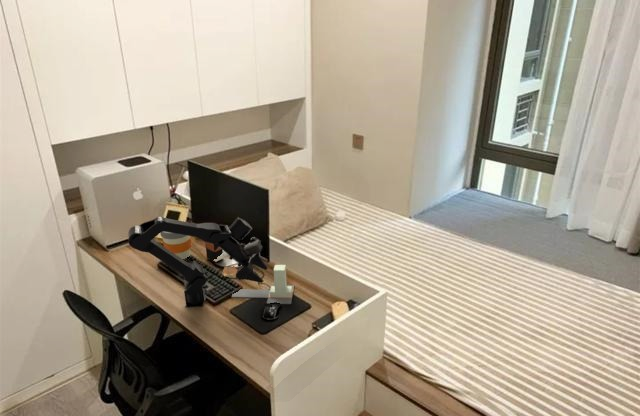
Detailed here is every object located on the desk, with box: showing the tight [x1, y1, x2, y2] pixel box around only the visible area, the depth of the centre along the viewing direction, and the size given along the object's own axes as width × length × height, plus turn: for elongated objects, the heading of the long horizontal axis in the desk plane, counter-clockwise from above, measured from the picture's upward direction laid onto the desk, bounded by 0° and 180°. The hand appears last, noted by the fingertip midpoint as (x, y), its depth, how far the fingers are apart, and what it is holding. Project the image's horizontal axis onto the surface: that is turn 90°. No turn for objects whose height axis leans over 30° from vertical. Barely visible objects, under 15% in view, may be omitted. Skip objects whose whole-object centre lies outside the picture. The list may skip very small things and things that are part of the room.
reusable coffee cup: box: [160, 231, 192, 259], centre depth 195 cm, size 13×13×15 cm
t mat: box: [231, 284, 295, 305], centre depth 171 cm, size 23×12×1 cm, turn 87°
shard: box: [221, 265, 239, 279], centre depth 187 cm, size 11×8×2 cm
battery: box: [204, 241, 224, 262], centre depth 195 cm, size 4×7×10 cm, turn 49°
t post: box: [269, 264, 292, 297], centre depth 169 cm, size 8×4×12 cm, turn 88°
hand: (264, 275), depth 168 cm, fingers open, 9 cm apart
